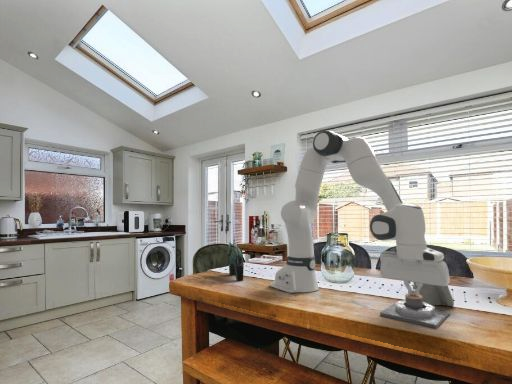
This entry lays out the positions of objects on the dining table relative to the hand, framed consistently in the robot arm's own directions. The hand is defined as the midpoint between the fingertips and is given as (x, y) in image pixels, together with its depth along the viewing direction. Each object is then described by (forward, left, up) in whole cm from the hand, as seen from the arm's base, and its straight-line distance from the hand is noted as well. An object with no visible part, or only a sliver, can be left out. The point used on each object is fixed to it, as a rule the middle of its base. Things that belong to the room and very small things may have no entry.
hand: (413, 295), depth 96 cm
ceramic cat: (-87, -1, -6) cm, 87 cm away
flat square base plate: (0, 0, -6) cm, 6 cm away
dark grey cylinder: (0, 0, -5) cm, 5 cm away
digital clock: (0, +19, -6) cm, 20 cm away
